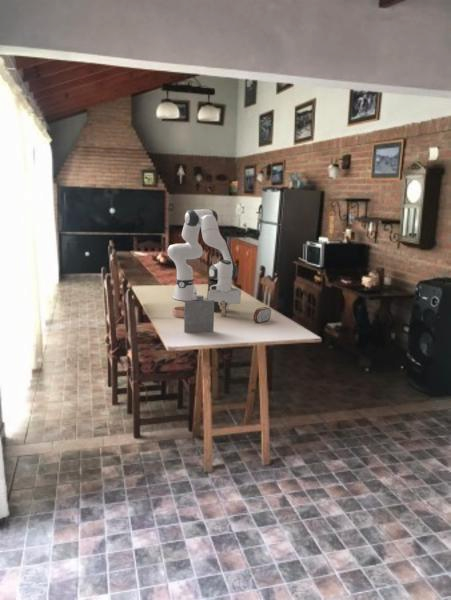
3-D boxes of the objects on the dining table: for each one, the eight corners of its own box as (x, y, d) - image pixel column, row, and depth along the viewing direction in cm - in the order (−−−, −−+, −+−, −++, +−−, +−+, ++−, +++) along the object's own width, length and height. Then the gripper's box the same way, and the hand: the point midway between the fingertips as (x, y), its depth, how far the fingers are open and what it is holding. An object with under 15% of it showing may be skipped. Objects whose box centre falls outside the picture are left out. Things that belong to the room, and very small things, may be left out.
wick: (223, 315, 307) (223, 299, 305) (226, 315, 307) (226, 299, 305) (221, 316, 304) (221, 300, 302) (224, 316, 303) (224, 300, 301)
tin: (267, 319, 301) (267, 305, 300) (271, 320, 300) (272, 306, 298) (252, 323, 290) (253, 309, 288) (256, 324, 288) (257, 310, 286)
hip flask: (212, 330, 272) (213, 294, 268) (214, 332, 268) (215, 296, 264) (183, 331, 268) (184, 294, 264) (184, 333, 265) (185, 296, 260)
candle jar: (177, 311, 312) (178, 305, 311) (197, 313, 308) (198, 307, 308) (169, 316, 299) (169, 309, 299) (190, 318, 296) (190, 312, 295)
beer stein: (207, 312, 313) (210, 280, 309) (203, 308, 323) (206, 278, 320) (230, 313, 318) (233, 282, 314) (226, 309, 328) (229, 279, 324)
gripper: (242, 287, 302) (241, 309, 305) (210, 285, 307) (209, 306, 310) (239, 289, 296) (239, 312, 299) (207, 286, 301) (206, 308, 304)
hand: (223, 309), depth 304 cm, fingers closed on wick, 2 cm apart
